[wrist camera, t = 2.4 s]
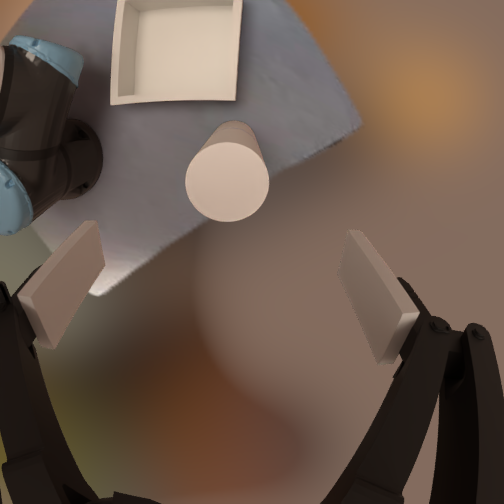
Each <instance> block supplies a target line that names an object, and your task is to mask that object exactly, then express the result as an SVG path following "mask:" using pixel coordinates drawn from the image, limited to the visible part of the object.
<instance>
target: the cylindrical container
mask: <svg viewBox="0 0 504 504" xmlns="http://www.w3.org/2000/svg"><path fill="white" fill-rule="evenodd" d="M185 185H186V191H187V194H188V197H189V199H190V201H191V203H192V204H193V206H194V207H195V208H196V209H197V210H198V211H199V212H200V213H202V214H203V215H205V216H206V217H209V218H211V219H213V220H217V221H223V222H232V221H238V220H241V219H244V218H246V217H248V216H250V215H251V214H253V213H254V212H255V211H257V210H258V208H259V207H260V206H261V205H262V203H263V202H264V200H265V198H266V195H267V193H268V188H269V176H268V172H267V168H266V165H265V163H264V160H263V157H262V154H261V151H260V149H259V146H258V143H257V140H256V138H255V135H254V133H253V131H252V129H251V128H250V127H249V126H248V125H247V124H245V123H243V122H240V121H228V122H225V123H223V124H221V125H220V126H219V127H218V128H217V129H216V130H215V132H214V133H213V134H212V135H211V137H210V138H209V139H208V140H207V142H206V143H205V144H204V145H203V147H202V148H201V149H200V151H199V152H198V153H197V155H196V156H195V157H194V159H193V160H192V161H191V163H190V165H189V167H188V169H187V173H186V180H185Z"/></svg>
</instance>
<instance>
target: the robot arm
mask: <svg viewBox="0 0 504 504" xmlns="http://www.w3.org/2000/svg"><path fill="white" fill-rule="evenodd" d="M83 64H84V60H83V57H82V55H81V54H80V53H78V52H77V51H75V50H72V49H70V48H67V47H65V46H62V45H59V44H56V43H52V42H49V41H45V40H39V39H36V38H33V37H28V36H22V35H16V36H14V37H13V39H12V40H11V41H10V43H9V46H1V45H0V235H6V236H8V235H12V234H15V233H17V232H18V231H20V230H21V229H23V228H25V227H27V226H29V225H30V224H31V222H33V221H34V220H35V219H36V218H37V217H39V216H40V215H41V214H42V213H44V212H45V211H46V210H47V209H48V208H50V207H51V206H52V205H54V204H55V203H56V202H57V201H59V200H68V199H74V198H77V197H79V196H81V195H83V194H84V193H85V192H87V191H88V190H89V189H91V188H92V187H93V185H94V184H95V183H96V181H97V180H98V178H99V175H100V173H101V169H102V162H103V154H102V148H101V144H100V141H99V139H98V137H97V135H96V134H95V132H94V131H93V130H92V128H91V127H89V126H88V125H87V124H86V123H84V122H82V121H79V120H76V119H67V116H68V112H69V109H70V105H71V102H72V99H73V96H74V92H75V89H76V88H78V85H79V84H78V80H79V77H80V74H81V71H82V68H83ZM104 266H105V261H104V256H103V251H102V246H101V241H100V235H99V229H98V223H97V221H84V222H83V223H82V224H81V225H80V226H79V227H78V228H77V229H76V230H75V231H74V232H73V233H72V234H71V235H70V236H69V237H68V238H67V239H66V240H65V241H64V242H63V243H62V244H61V245H60V247H59V248H58V249H57V250H56V251H55V252H54V253H53V254H52V255H51V256H50V257H49V258H48V260H47V261H46V262H45V263H44V264H42V265H41V266H39V267H38V268H36V269H35V270H34V271H33V272H32V273H31V274H30V275H29V277H28V278H27V279H26V280H25V281H24V283H22V285H21V286H20V287H19V288H18V289H17V291H16V292H15V293H14V294H13V295H12V297H11V296H10V294H9V292H8V289H7V287H6V284H5V283H4V282H3V281H0V432H1V437H2V441H3V444H4V448H5V452H6V456H7V462H5V463H3V464H2V472H3V477H4V480H5V483H6V486H7V489H8V492H9V494H10V497H11V500H12V502H13V504H161V503H158V502H156V501H153V500H151V499H146V498H141V497H136V496H132V495H127V494H123V493H119V492H114V494H113V497H109V498H101V499H99V498H98V496H97V495H96V494H95V492H94V491H93V490H92V488H91V487H90V486H89V485H88V484H87V482H86V481H85V479H84V478H83V476H82V474H81V472H80V470H79V468H78V466H77V465H76V462H75V460H74V458H73V456H72V454H71V451H70V449H69V447H68V445H67V443H66V440H65V438H64V435H63V433H62V430H61V428H60V425H59V423H58V420H57V418H56V415H55V412H54V410H53V407H52V404H51V401H50V398H49V395H48V392H47V389H46V385H45V382H44V379H43V375H42V372H41V368H40V365H39V361H38V357H37V353H36V349H35V347H34V345H33V341H34V339H35V338H36V337H37V339H38V341H39V343H40V345H41V347H45V348H49V349H53V350H55V348H56V346H57V344H58V342H59V341H60V339H61V337H62V335H63V333H64V331H65V329H66V328H67V326H68V324H69V323H70V321H71V319H72V318H73V316H74V314H75V312H76V311H77V309H78V307H79V306H80V304H81V302H82V301H83V299H84V298H85V296H86V294H87V293H88V291H89V290H90V288H91V286H92V285H93V283H94V282H95V280H96V279H97V277H98V276H99V274H100V272H101V271H102V269H103V268H104ZM338 276H339V279H340V281H341V283H342V285H343V287H344V289H345V291H346V293H347V296H348V298H349V300H350V302H351V304H352V307H353V309H354V311H355V313H356V315H357V318H358V320H359V322H360V324H361V327H362V329H363V331H364V334H365V336H366V338H367V341H368V343H369V345H370V348H371V350H372V353H373V355H374V357H375V360H376V362H377V365H385V364H392V363H394V362H395V360H396V358H397V356H398V354H400V356H401V358H402V360H403V361H402V362H401V364H400V366H399V367H398V369H397V371H396V372H395V374H394V376H393V378H394V380H393V382H392V384H391V386H390V388H389V390H388V393H387V395H386V397H385V399H384V401H383V403H382V405H381V407H380V409H379V411H378V413H377V415H376V417H375V419H374V420H373V422H372V424H371V426H370V428H369V430H368V432H367V433H366V435H365V437H364V439H363V441H362V442H361V444H360V446H359V447H358V449H357V451H356V452H355V454H354V456H353V457H352V459H351V461H350V462H349V464H348V465H347V467H346V469H345V470H344V471H343V473H342V474H341V476H340V478H339V479H338V481H337V482H336V483H335V485H334V486H333V488H332V489H331V491H330V492H329V493H328V495H327V496H326V498H325V499H324V500H323V501H322V502H321V503H320V504H404V497H403V496H402V491H403V488H404V486H405V484H406V482H407V480H408V478H409V476H410V473H411V471H412V469H413V466H414V464H415V462H416V459H417V457H418V454H419V452H420V449H421V446H422V444H423V441H424V439H425V436H426V433H427V430H428V427H429V424H430V421H431V418H432V415H433V412H434V408H435V405H436V402H437V398H438V395H439V425H438V442H437V452H436V462H435V470H434V478H433V484H432V491H431V497H430V502H429V504H504V397H503V390H502V385H501V379H500V374H499V369H498V365H497V360H496V356H495V352H494V348H493V344H492V340H491V336H490V334H489V332H488V331H487V330H486V329H485V328H484V327H483V326H482V325H479V324H476V323H470V324H468V326H467V327H466V329H465V330H464V332H461V331H455V330H452V329H451V327H450V325H449V324H448V323H447V322H446V321H445V320H443V319H442V318H440V317H436V316H431V315H430V313H429V311H428V310H427V309H426V307H425V306H424V304H423V303H422V301H421V300H420V299H419V298H418V296H417V294H416V293H415V292H414V290H413V289H412V287H411V286H410V285H409V283H407V282H406V281H405V280H403V279H402V278H400V277H398V278H396V277H395V275H394V274H393V273H392V271H391V270H390V268H389V267H388V266H387V264H386V263H385V262H384V260H383V259H382V258H381V256H380V255H379V253H378V252H377V251H376V249H375V248H374V247H373V246H372V244H371V243H370V242H369V240H368V239H367V238H366V236H365V235H364V234H363V233H362V231H361V230H347V235H346V239H345V244H344V248H343V253H342V257H341V261H340V266H339V270H338ZM0 504H2V498H1V491H0Z"/></svg>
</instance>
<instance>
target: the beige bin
mask: <svg viewBox="0 0 504 504" xmlns="http://www.w3.org/2000/svg"><path fill="white" fill-rule="evenodd" d="M242 10H243V0H118V2H117V9H116V17H115V26H114V36H113V48H112V63H111V91H110V105H119V104H129V103H140V102H154V101H175V100H232V101H236V93H237V78H238V63H239V49H240V35H241V22H242Z"/></svg>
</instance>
